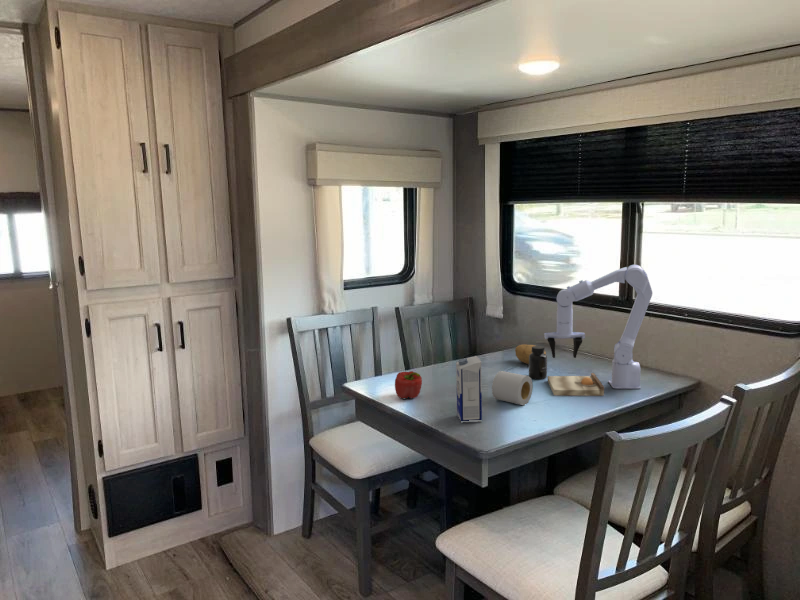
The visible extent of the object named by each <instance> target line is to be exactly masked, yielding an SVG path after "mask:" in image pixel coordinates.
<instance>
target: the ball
mask: <svg viewBox="0 0 800 600" xmlns="http://www.w3.org/2000/svg"><path fill="white" fill-rule="evenodd" d="M581 384H583V385H593V381H592V379H591V378H589V377H585V378H583V379H582V381H581Z"/></svg>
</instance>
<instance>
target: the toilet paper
mask: <svg viewBox="0 0 800 600" xmlns="http://www.w3.org/2000/svg"><path fill="white" fill-rule="evenodd" d="M533 386H534V385H533V381H532V378H530V377H529V375H525V374H520V373H514V372H508V371H505V370H504V371H503V370H499V371H498V372H497V373H496V374H495V376H494V377H493V380H492V384H491V392H492V393H491V394H492V396H493V398H494V399H495V400H497V401H503V402H507V403H511V404H515V405H521V406H525V404H526V405H527V404H528V403H529V402H530V399H531V397H532V394H533Z"/></svg>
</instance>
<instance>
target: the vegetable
mask: <svg viewBox="0 0 800 600" xmlns="http://www.w3.org/2000/svg"><path fill="white" fill-rule="evenodd" d="M422 385H423V379H422V376H421V374H419V373H418V372H415V371H401V372H398V373H397V375H396V377H395V379H394V391H395V394H396V395H397V397H399V398H400V399H402V398H406V399H412V398H413V399H415V398H417V397H418V395H420V392H421V389H422ZM408 397H409V398H408Z"/></svg>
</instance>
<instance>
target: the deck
mask: <svg viewBox="0 0 800 600" xmlns="http://www.w3.org/2000/svg"><path fill="white" fill-rule="evenodd" d="M585 377H589V378H591V379H592V381H593V385H583V384H581V381H582V379H583V378H585ZM547 383H548V386H549V387H550V389H551V392H552V394H553V396H562V397H563V396H564V397H567V396H568V397H569V396H578V397H579V396H580V397H581V396H584V397H586V396H587V397H588V396H590V397H591V396H592V397H593V396H594V397H595V396H603V397H604V396H605V386H604V385H603V383H602V382H601V381H600V379H599V378H598V376H597V375H596V374H595V373H594V372H591V373H590V375H555V376H554V375H550V376H549V375H547Z"/></svg>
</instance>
